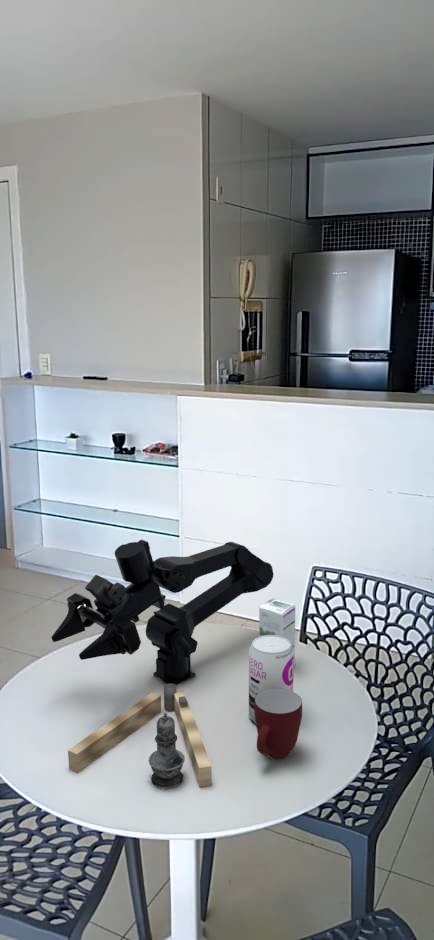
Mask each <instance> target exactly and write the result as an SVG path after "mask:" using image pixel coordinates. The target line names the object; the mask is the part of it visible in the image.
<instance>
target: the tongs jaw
mask: <svg viewBox="0 0 434 940" xmlns="http://www.w3.org/2000/svg"><path fill="white" fill-rule="evenodd" d="M161 713H162V695H161V694H158V693H156V692H154V691H152V692H151V693H149V694H148V695H147V696H145V697H143V698H142V699H140V700H139V701H137V702H136V703H135V704H133V705H132V706H130V707H129V708H128V709H126V710H125V711H123V712H121V713H120V714H118V715H117V716H116V717H114V718H113V719H111V720H110V721H108V722H107V723H106V724H104V725H103V726H101V727H100V728H98V729H97V730H95V731H94V732H92V733H90V735H88V736H86V737H85V738H84V739H82V740H80V741H79V742H77V743H76V744H74V745H73V746H72V747H70V748H69V749H67V757H68V769H69V770H71V771H73V772H75V773H77V774H78V773H80V772H81V771H82V770H84V769H85V768H87V767H88V766H89V765H90V764H92V763H93V762H95V761H96V760H97V759H99V758H101V756H103V755H104V754H105V753H107V752H109V751H110V750H111V749H113V748H114V747H115V746H116V745H118V744H119V743H121V742H122V741H124V740H125V739H126V738H128V737H129V736H131V735H132V734H133V733H134V732H136V731H137V730H138V729H140V728H141V727H143V726H145V725H146V723H148V722H149V721H151V720H152V719H154V718H155V717H157V716H158V715H159V714H161Z"/></svg>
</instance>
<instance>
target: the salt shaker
mask: <svg viewBox="0 0 434 940" xmlns="http://www.w3.org/2000/svg"><path fill="white" fill-rule="evenodd" d="M175 728H176V724H175V719H174V718H173V717H172V716H169V715H168V713H167V712H164V713H163V715H162V716H160V717H159V718H158V719H157V720H156V736H155V737H154V742H155V743H156V750H155V751H154V752H152V753H151V754H150V756H149V757H148V764H149V766H150V769H151V770H152V772H153V773H152V774H151V776H150V782H151V783H152V785H154V787H156V788H159V789H164V790H169V789H174V788H176V787H178V786H180V785H181V784H182V782H183V780H184V775H183V772H182V771H181V770H182V768H183V765H184V763H185V760H186V757H185V755H184V753H183V752H182V751H180V750H178V749H177V743H176V742H177V741H178V735H177V734H176V729H175Z"/></svg>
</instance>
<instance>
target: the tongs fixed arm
mask: <svg viewBox="0 0 434 940" xmlns="http://www.w3.org/2000/svg"><path fill="white" fill-rule="evenodd" d="M163 709H164V710H165V711H167V712H174V713H175V716H176V719H177V722H178V726H179V729H180V731H181V735H182V737H183V741H184V744H185V746H186V749H187V753H188V757H189V759H190V762H191V766H192V769H193V772H194V774H195V777H196V781H197V783H198V787H199V788H202V787H209V786H213V784H212V783H213V782H212V763H211V762H210V759H209V756H208V753H207V750H206V748H205V746H204V743H203V740H202V736H201V734H200V731H199V729H198V726H197V723H196V720H195V718H194V715H193V712H192V710H191V706H190V703H189V701H188V698H187V696H186V693H185V690H184V689H180V690H178V689H177V685H175V684H171V683H170V684H167V683H165V684H164V685H163Z"/></svg>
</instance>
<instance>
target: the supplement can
mask: <svg viewBox="0 0 434 940" xmlns="http://www.w3.org/2000/svg"><path fill="white" fill-rule="evenodd" d="M294 668H295V666H294V650H293V648H292V646H291V644H290V642H289V640H288V639H286V638H284V637H281V636H277V635H264V636H260V637H259V636H258V637H256V638H255V639H253V640H252V643H251V645H250V647H249V649H248V716H249V718H250V720H252V721H253V723H255V724H256V721H255V713H254V704H255V697H256V696H257V694H259V693H260V692H262V691H264V690H267V689H274V688H280V689H287V690H290V691H293V692H294Z"/></svg>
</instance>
